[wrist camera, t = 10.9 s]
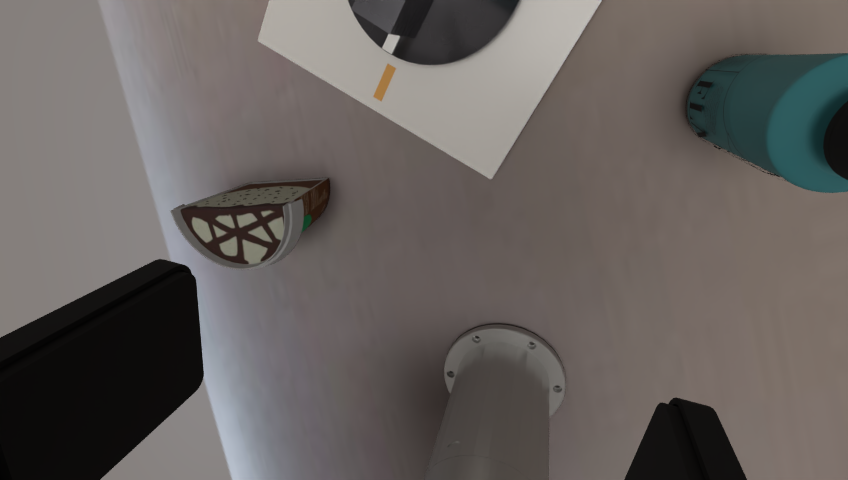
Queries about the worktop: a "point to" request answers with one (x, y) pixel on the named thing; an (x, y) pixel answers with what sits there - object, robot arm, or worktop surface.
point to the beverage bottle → (779, 115)
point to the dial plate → (436, 72)
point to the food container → (252, 221)
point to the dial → (433, 27)
